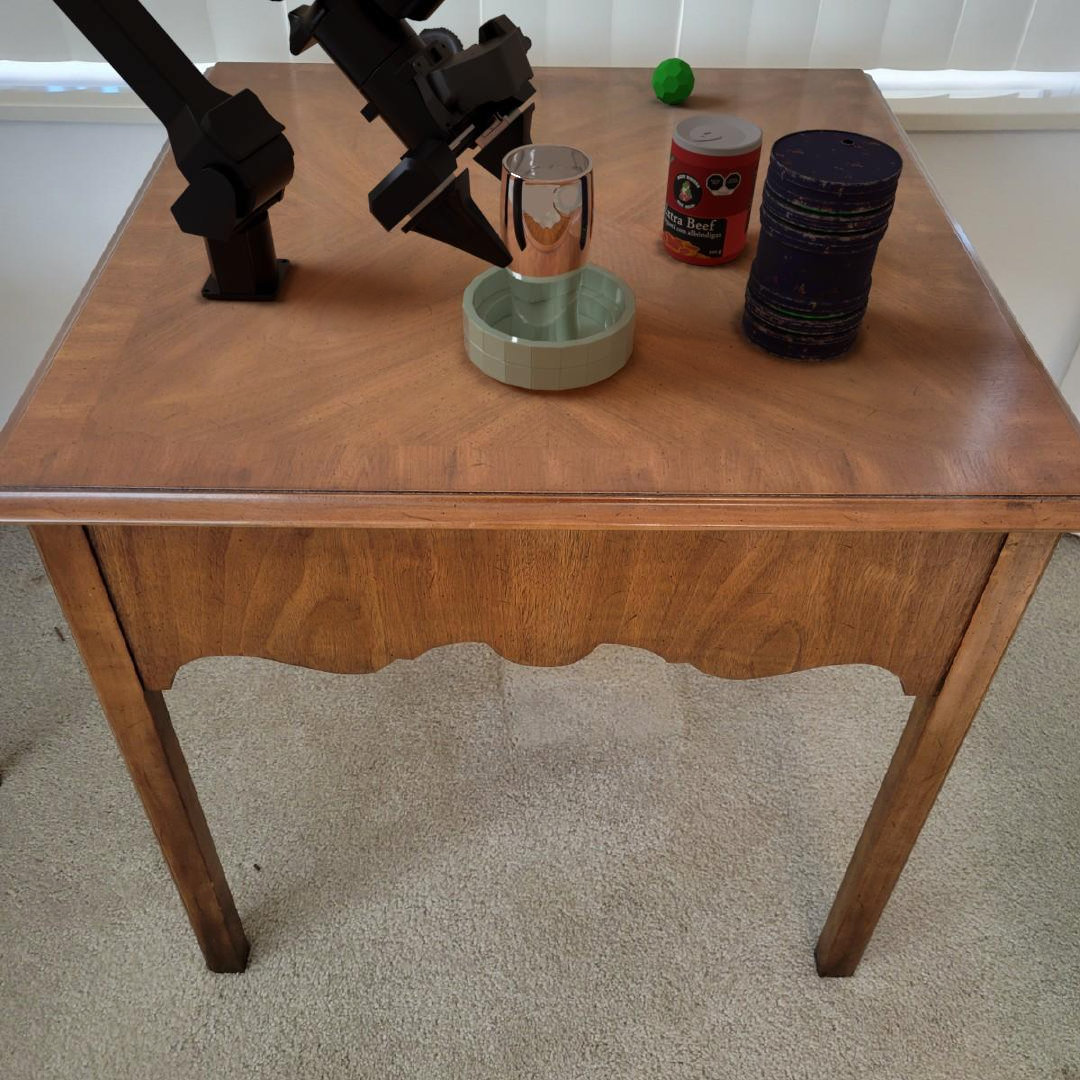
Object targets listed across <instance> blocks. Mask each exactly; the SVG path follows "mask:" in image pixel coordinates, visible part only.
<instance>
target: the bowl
mask: <svg viewBox="0 0 1080 1080" xmlns="http://www.w3.org/2000/svg"><path fill="white" fill-rule="evenodd" d="M463 292H464V293H463V297H462V303H461V304H462V305H461V307H462V325H463V326H462V330H463V331H462V332H463V346H464V349H465V352H466V353H467V356H468V359H469V361H470V362H471V363H472V364H474V366H476V367H477V368H478V369H479V370H480V371H481V372H482V373H484V375H486V376H489V377H491V378H492V379H495V380H497V381H499V382H500V383H503V384H506V385H510V386H515V387H519V388H523V389H528V390H538V391H563V390H571V389H578V388H583V387H584V388H585V387H588V386H591V385H593V384H596V383H599V382H601V381H603V380H607V379H609V378H610V377H612V376H613V375H614V374H615V373H617V372H619V370H620V369H622V368H623V367H624V366H625V365H626V364H627V362H628V360H629V358H630V357H631V355H632V353H633V350H634V349H633V348H634V337H635V326H636V314H637V301H636V295H635V293H634V291H633V289H632V288H631V286H630V285H629V284H628V282H627V281H626V280H624V279H623V278H621V276H619V275H618V274H616V273H615V272H613V271H612V270H610V269H607V268H605V267H603V266H599V265H597V264H594V263H592V262H589V261H587V264H586V268H585V272H584V276H583V280H582V285H581V289H580V294H579V302H578V317H579V324H580V330H581V336H582V339H576V340H569V341H562V342H551V341H531V340H527V339H522V338H517V337H513V336H509V335H508V330H509V326H510V321H511V315H512V296H511V289H510V284H509V278H508V274H507V269H506V268H500V267H498V266H495V265H493V266H492V267H489V268H488V269H487V270H485V271H483V272H481V273H479V274H478V275H477V276H475V277H474V278H473V279H472V280H471V282H470V283H469V285H467V287H466V288H465V289H464V291H463Z"/></svg>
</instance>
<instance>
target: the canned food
mask: <svg viewBox="0 0 1080 1080" xmlns="http://www.w3.org/2000/svg"><path fill="white" fill-rule="evenodd" d="M763 136H764V132H763V130H762V128H761V127H760V126H759V125H758V124H756V123H754V122H753V121H750V120H749V119H746V118H743V117H738V116H735V115H729V114H723V113H722V114H721V113H720V114H717V113H712V114H711V113H707V114H706V113H705V114H699V115H693V116H689V117H686V118H684V119H682V120H679V121H678V122H677V123H676V124H675V125H674V126H673V131H672V136H671V146H670V152H669V153H670V155H669V162H668V163H669V164H668V173H667V183H666V184H667V185H666V194H665V204H664V213H663V223H662V224H663V226H662V233H661V239H662V243H663V248H664V250H665V252H666V253H667V254H668V255H669V256H671V257H672V258H674V259H675V260H677V261H681V262H683V263H686V264H689V265H697V266H715V265H716V266H717V265H722V264H727V263H728V262H731V261H733V260H734V259H736V258H738V257H739V256H740V255H741V254H742V251H743V249H744V247H745V245H746V243H747V236H748V232H749V225H750V221H751V220H750V218H751V213H752V207H753V202H754V197H755V196H754V195H755V190H756V184H757V178H758V172H759V167H760V161H761V156H762V155H761V154H762V146H763V138H764V137H763Z"/></svg>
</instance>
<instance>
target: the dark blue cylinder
mask: <svg viewBox="0 0 1080 1080" xmlns="http://www.w3.org/2000/svg"><path fill="white" fill-rule="evenodd" d="M903 168H904V160H903V157H902V155H901V153H900V152H898V150H897V149H895V147H893V146H891V145H890V144H888V143H887V142H884V141H882V140H880V139H878V138H875V137H872V136H870V135H866V134H862V133H859V132H854V131H848V130H842V129H841V130H840V129H829V128H828V129H826V128H825V129H824V128H822V129H821V128H820V129H819V128H817V129H804V130H798V131H793V132H790V133H787V134H784V135H782V136H781V137H779V138H777V139H776V140H775V141H774V142H773V144H772V145H771V148H770V153H769V164H768V167H767V170H766V177H764V178H765V179H764V181H763V187H762V193H761V203H760V204H759V205H760V206H759V223H760V229H759V234H758V240H757V247H756V251H755V252H756V253H755V257H754V258H753V260H752V261H751V264H750V269H749V275H748V279H747V281H746V285H745V286H746V287H745V292H744V305H743V306H744V307H743V308H744V311H743V313H742V317H741V322H740V323H741V325H740V326H741V330H742V334H743V335H744V336H745V338H746V339H747V340H748V342H750V343H751V344H752V345H754V347H756V348H758V349H759V350H761V351H763V352H765V353H767V354H769V355H771V356H775V357H776V358H777V357H778V358H781V359H785V360H788V361H789V360H790V361H796V362H803V363H804V362H805V363H806V362H807V363H808V362H809V363H814V362H815V363H816V362H826V361H830V360H834V359H838V358H840V357H842V356H844V355H846V354H848V353H849V352H851V350H852V349H853V348H854V347H855V345H856V343H857V340H858V338H859V329H860V328H861V325H862V321H863V319H864V318H865V315H866V312H867V308H868V304H869V299H870V297H869V295H870V293H871V292H870V291H871V288H872V285H873V276H872V273H873V269H874V264H875V260H876V258H877V253H878V249H879V247H880V243H881V241H882V240H883V239H884V237H885V235H886V232H887V231H888V228H889V223H890V222H889V220H890V217H891V216H892V214H893V209H894V206H895V202H896V194H897V190H898V186H899V179H900V177H901V175H902V171H903Z"/></svg>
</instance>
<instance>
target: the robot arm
mask: <svg viewBox="0 0 1080 1080" xmlns="http://www.w3.org/2000/svg"><path fill="white" fill-rule="evenodd" d="M269 1H270V2H277V3H281V2H283V1H284V0H269ZM445 1H446V0H314V1H313V2H312V3H311V4H310V5H309V4H305V3H303V4H301V5H299V6H298V7H295V8H294V9H292V10H290V11H289V12H288V13H287V19H288V22H289V23H288V24H289V37H288V43H289V44H288V46H289V52H290V54H291V55H292V56H295V57H298V56H299V55H301V54H303V53H305V51H308V49H311V48H313V46H315V45H317V44H318V45H319V47H320V48H321V49H322V51H324V52H325V54H326V56H328V57H329V59H330V60H331V61H332V62H333V63H334V64H335V65H336V67H337V68H338V69H339V70H340V71H341V72H342V74H343V75H344V76H345V77H346V79H347V80H348V81H349V82H350V83H351V84H352V85H353V87H354V88H355V89H356V90H357V92H359V95H360V96H362V98H363V99H364V100H365V101H366V104H365V105H364V106H363V108H362V109H361V110H360V111H359V113H360V114H361V115H362V116H363V117H364V118H365V120H366V121H367V122H368V123H369V124H371V123H372V122H374V121H375V120H376V119H377V118H379V117H380V119H381V120H382V122H384V123H385V125H386V126H387V127H388V128H389V129H390V131H391V132H392V133H393V134H394V135H395V137H396V138H397V139H398V141H400V142H401V144H402V145H403V146H404V147H405V148H406V149H407V150H406V151H404V153H402V155H401V156H400V157H399V160H400V162H399V163H397V165H396V166H394V167H393V168H392V169H391V171H390V172H389V173H388V174H386V176H385V177H384V178H383V179H381V181H380V182H378V183H377V184H376V185H375V186H374V187H373V189H371V190H370V191H369V192H368V193H367V199H368V208H369V209H368V211H369V213H370V214H371V215H372V217H374V219H375V220H376V221H377V222H378V223H379V224H380V225H381V226H382V228H383V229H384V230H385V231H386V232H387V233H390V232H391V231H392V230H393V229H394V228H396V226H397V225H398V224H400V222H402V221H403V220H404V219H405V218H406V217H408V216H409V218H410V219H409V220H408V221H407V222H406V223H405V224H403V226H402V227H400V231H401V232H402V233H404V234H406V235H407V234H408V233H409V232H413V233H416V234H419V235H422V236H425V237H427V238H429V239H433V240H435V241H438V242H441V243H443V244H446V245H449V246H451V247H453V248H455V249H458V250H460V251H462V252H464V253H467V254H469V255H471V256H473V257H476V258H478V259H480V260H482V261H484V262H487V263H489V264H491V265H493V266H498V267H500V268H506V267H507V266H508V265H510V264H511V263H512V262H513V257H512V255H511V254H510V252H509V251H508V249H507V247H506V246H505V244H504V242H503V241H502V240H501V236H500V234H498V232H497V230H496V229H495V228H494V227H493V226H492V224H491V223H490V221H489V220H488V219H487V217H486V215H485V214H484V213H483V211H482V210H481V209H480V208H479V206H478V205H477V204H476V202H475V201H474V199H473V197H472V193H471V181H470V180H471V179H470V170H469V167H466V168H464V169H463V170H462V171H461V172H460V173H459V174H458V175H457V176H456V175H455V173H454V172H455V171H457V170H458V168H459V165H458V162H457V159H458V158H459V157H460V156H461V155H463V154H464V152H465V151H466V150H467V149H471V150H472V151H474V150H475V149H476V148H477V147H479V148H480V150H479V151H478V152H477V153H476V154H475V155H474V156H473V157H472V161H474V162H475V163H477V164H478V165H479V166H480V167H482V168H483V169H484V170H485V171H487V172H488V173H489V174H491V175H492V176H493V177H494V178H496V179H497V180H498V181H499V182H501V178H502V159H503V157H504V156H505V155H506V154H507V153H508V152H509V151H511V150H513V149H515V148H517V147H520V146H524V145H529V144H534V143H533V140H532V137H531V131H532V130H531V129H532V120H533V114H534V111H536V103H535V101H533V102H531V103H530V104H529V105H528V106H527V107H526V108H525V109H523V111H522V110H521V109H520V108H521V107H522V106H523V105H524V104H525V103H526V102H527V101H529V100H530V99H531V97H533V96H534V94H536V92H537V89H536V88H535V87H534V86H533V84H532V83H531V82H530V80H532V79H533V78H534V76H535V74H534V71H533V69H532V66H531V63H530V61H529V59H528V55H527V54H528V52H529V51H530V50H531V48H532V45H533V43H532V39H531V38H530V37H529V36H527V35H524V34H523V32H522V29H521V27H520V26H517V25H516V24H515V23H514V22H513V21H512V20H511V19H510V18H509V16H507V15H506V14H505V13H503V14H500V15H497V16H494V17H492V18H490V19H488V20H487V21H486V22H484V23H483V24H482V25H480V26H479V27H478V34H477V35H478V42H477V43H476V42H475V43H473V44H471V45H470V46H469V47H468V48H466V49H464V50H463V51H461V52H458V53H456V54H453V53H452V52H451V51H450V49H449V48H448V47H447V46H446V44H445V43H443V42H441V41H440V42H439V41H438V40H437V39H436V40H434V41H433V42H432V43H430V44H429V45H428V46H426V44H425V43H424V42H423V41H422V39H421V38H420V37H419V36H418V35H419V34H418V33H417V32H416V31H415V29H414V28H413V27H412V26H411V25H410V23H409V21H407V19H408V20H410V21H413V22H426V21H428V19H430V18H431V17H432V16H433V14H434V13H435V12H436V11H438V9H439V8H440V7H441V6H442V5H443V3H444V2H445ZM52 2H53V3H54V4H55V5H56V6H57V7H58V9H60V10H61V12H62V13H63V14H64V15H65V16H66V18H68V20H69V21H70V22H71V23H72V24H73V25H74V26H75V27H76V29H78V31H79V32H80V33H81V34H82V35H83V37H84V38H86V40H87V41H88V42H89V43H90V44H91V45H92V47H94V49H95V50H96V51H97V52H98V53H99V54H100V56H102V58H104V60H105V61H106V62H107V63H108V65H110V67H111V68H112V69H113V70H114V71H115V72H116V73H117V74H118V76H119V77H120V78H121V79H122V80H123V81H124V82H125V84H126V85H128V87H129V88H131V91H133V92H134V94H136V96H138V98H139V99H140V100H141V102H143V103H144V105H145V106H146V107H147V108H148V109H149V110H150V111H151V112H152V113H153V115H154V116H155V117H156V118H157V119H158V120H159V122H161V124H162V125H163V127H164V128H165V130H166V133H167V136H168V141H169V143H170V147H171V151H172V154H173V158H174V161H175V165H176V167H177V169H178V170H179V171H180V173H181V175H182V176H183V178H184V179H185V180H186V182H187V183H188V185H187V186H186V188H185V189H184V190H183V191H182V192H181V194H180V195H179V196H178V197H177V199H176V200H175V201H174V203H172V204H171V206H170V208H169V209H170V212H171V215H172V216H173V218H174V220H175V222H176V224H177V226H178V227H179V230H180V232H182V233H183V234H188V235H193V236H198V237H202V239H203V242H204V247H205V251H206V255H207V260H208V264H209V269H210V273H209V275H208V277H207V279H206V280H205V282H204V284H203V286H202V288H201V290H200V294H201V297H202V298H205V299H226V300H227V299H229V300H259V301H261V300H262V301H273V300H275V299H277V298H278V295H279V293H280V290H281V288H282V286H283V285H284V284H283V283H284V281H285V279H286V277H287V274H288V272H289V270H290V267H291V261H290V259H288V258H277V252H276V247H275V242H274V238H273V237H274V236H273V231H272V226H271V220H270V215H269V211H268V210H269V209H271V208H272V207H273V206H274V205H275V204H277V203H280V202H281V201H282V200H284V196H285V192H286V186H287V187H288V185H289V184H290V183H291V181H292V180H293V178H294V173H295V168H296V167H295V166H296V165H295V158H294V156H295V151H294V148H293V146H292V144H291V142H290V141H289V140H288V138H287V137H286V135H285V134H284V133H283V132H284V131H285V130H286V126H285V124H284V123H281V122H280V121H278V120H277V119H276V118H275V117H273V116H272V115H271V113H269V111H268V110H267V109H266V107H265V106H264V104H263V102H262V101H261V100H260V98H259V96H258V95H257V94H256V93H255V92H254V91H252V89H250V88H248V87H245V88H243V89H242V90H240V91H239V92H237V93H236V94H233V95H232V94H230V93H228V92H227V91H224V90H222V89H220V88H218V87H216V86H214V84H212V83H211V82H210V81H209V80H208V78H206V76H205V75H204V74H203V73H202V72H201V70H200V69H198V67H197V66H196V65H195V64H194V63H193V61H192V60H191V59H190V58H189V57H188V55H187V54H185V52H184V51H183V50H182V49H181V47H180V46H179V45H178V44H177V43H176V42H175V41H174V39H173V38H172V37H171V36H170V35H169V33H168V32H167V31H166V30H165V29H164V28H163V27H162V26H161V24H160V23H159V22H158V21H157V19H155V17H154V16H153V15H152V14H151V13H150V11H149V10H148V9H147V8H146V7H145V6H144V4H143V3H142V2H141V1H140V0H52Z"/></svg>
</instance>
